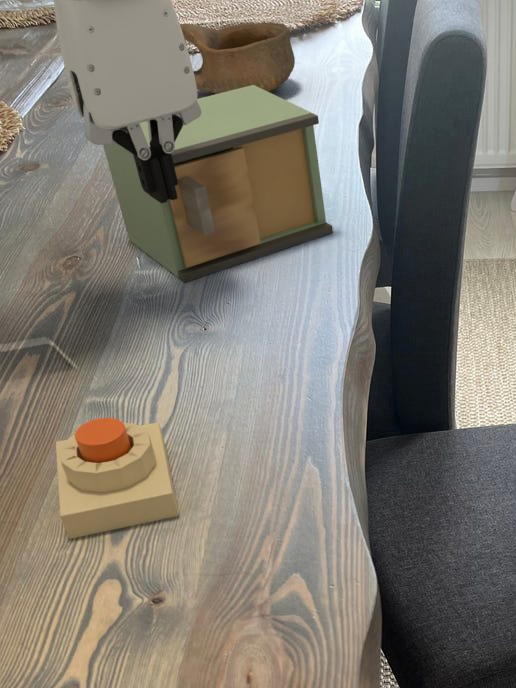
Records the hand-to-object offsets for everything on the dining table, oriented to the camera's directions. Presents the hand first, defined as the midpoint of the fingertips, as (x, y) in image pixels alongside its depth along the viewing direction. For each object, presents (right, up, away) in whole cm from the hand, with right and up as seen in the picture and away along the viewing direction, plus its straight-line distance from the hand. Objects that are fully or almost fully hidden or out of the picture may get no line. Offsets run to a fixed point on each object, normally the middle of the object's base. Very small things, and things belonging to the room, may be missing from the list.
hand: (162, 196), depth 95 cm
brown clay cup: (-5, +36, +50) cm, 62 cm away
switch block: (+2, -30, -17) cm, 35 cm away
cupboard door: (+4, -3, +8) cm, 10 cm away
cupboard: (+2, +3, +16) cm, 16 cm away
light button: (+2, -28, -19) cm, 34 cm away
